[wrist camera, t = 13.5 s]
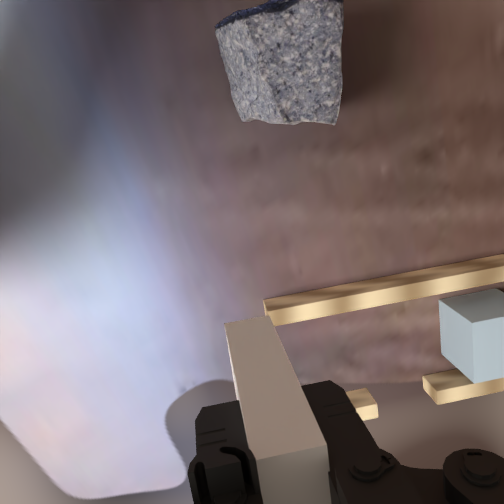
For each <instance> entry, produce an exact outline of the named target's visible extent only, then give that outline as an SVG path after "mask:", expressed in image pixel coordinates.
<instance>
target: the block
mask: <svg viewBox="0 0 504 504" xmlns="http://www.w3.org/2000/svg"><path fill="white" fill-rule="evenodd" d="M439 315H440V333H441V351H442V355H443V356H445V357H446V358H447V359H448V360H449V361H450V362H451V363H452V364H453V365H454V366H455V367H457V368H458V369H459V370H460V371H461V372H462V373H463V374H464V375H465V376H466V377H468V378H469V379H470V380H471V381H472V382H473V383H474V384H475V383H480V382H485V381H489V380H494V379H499V378H504V292H502V291H500V290H498V289H496V288H495V289H490V290H485V291H480V292H475V293H470V294H465V295H460V296H454V297H449V298H444V299H439Z"/></svg>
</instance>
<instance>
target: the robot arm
mask: <svg viewBox="0 0 504 504" xmlns="http://www.w3.org/2000/svg"><path fill="white" fill-rule="evenodd" d="M224 325H225V331H226V337H227V343H228V349H229V355H230V361H231V367H232V373H233V379H234V385H235V391H236V396H237V400H236V401H232V402H227V403H222V404H217V405H212V406H207V407H202V409H201V411H200V413H199V415H198V416H197V418H196V420H195V429H196V452H197V455H196V456H195V457H194V459H193V460H192V461H191V463H190V465H189V469H188V478H189V482H190V487H191V492H192V497H193V501H194V504H504V458H502V457H500V456H498V455H496V454H494V453H492V452H489V451H485V450H481V449H462V450H459V451H455V452H453V453H452V454H450V455H449V456H448V457H446V459H445V462H444V464H443V469H418V468H410V467H407V466H404V465H400V463H399V462H398V461H397V460H396V458H394V456H393V455H392V454H390V453H388V452H386V451H384V450H382V449H379V447H378V446H377V444H376V442H375V441H374V439H373V437H372V436H371V434H370V432H369V431H368V429H367V428H366V426H365V424H364V423H363V421H362V419H361V417H360V416H359V414H358V413H357V412H356V409H355V407H354V406H353V404H352V403H351V401H350V399H349V397H348V396H347V394H346V392H345V391H344V389H343V388H341V387H340V386H338V385H337V384H335V383H334V382H332V381H330V380H328V381H323V382H318V383H313V384H309V385H304V386H301V385H300V383H299V381H298V379H297V376H296V374H295V372H294V370H293V367H292V365H291V363H290V361H289V358H288V356H287V354H286V352H285V350H284V347H283V345H282V343H281V341H280V338H279V336H278V334H277V332H276V329H275V327H274V325H273V323H272V320H271V318H270V316H269V315H267V316H262V317H257V318H251V319H246V320H240V321H235V322H230V323H224Z"/></svg>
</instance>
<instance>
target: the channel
mask: <svg viewBox="0 0 504 504" xmlns="http://www.w3.org/2000/svg"><path fill="white" fill-rule="evenodd" d="M503 281H504V254H500V255H495V256H490V257H485V258H479V259H474V260H469V261H464V262H458V263H453V264H448V265H443V266H438V267H432V268H427V269H422V270H417V271H411V272H406V273H401V274H396V275H390V276H385V277H380V278H375V279H370V280H364V281H359V282H354V283H349V284H343V285H338V286H333V287H328V288H323V289H317V290H312V291H307V292H302V293H296V294H291V295H286V296H281V297H275V298H270V299H265V300H263V303H264V309H265V315H266V316H267V315H269V316H270V318H271V320H272V323H273V325H274V326H278V325H283V324H288V323H293V322H299V321H304V320H309V319H314V318H319V317H324V316H329V315H334V314H340V313H345V312H350V311H355V310H360V309H365V308H370V307H375V306H380V305H386V304H391V303H396V302H401V301H406V300H411V299H416V298H421V297H427V296H432V295H437V294H442V293H447V292H452V291H457V290H462V289H467V288H473V287H478V286H483V285H488V284H493V283H498V282H503ZM423 388H424V390H425V391H426V392H427V393H428V394H429V395H430V396H431V398H432V399H433V400H434V401H435V402H436V404H437V405H439V404H444V403H448V402H453V401H458V400H462V399H467V398H472V397H477V396H481V395H486V394H491V393H495V392H500V391H504V378H499V379H494V380H489V381H485V382H480V383H475V384H474V383H473V382H472V381H471V380H470V379H469V378H468V377H466V376H465V375H464V374H463V373H462V372H461V371H460V370H459V369H454V370H449V371H444V372H439V373H434V374H429V375H425V376H423ZM346 394H347V396H348V397H349V399H350V401H351V403H352V404H353V406H354V407H355V409H356V412H357V413H358V414H359V416H360V417H361V419H362V421H363V420H368V419H373V418H378V409H377V403H376V401H375V400H374V398H373V397H372V395H371V394H370V392H369V391H368V389H367V388H362V389H357V390H352V391H347V392H346Z"/></svg>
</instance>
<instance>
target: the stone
mask: <svg viewBox="0 0 504 504" xmlns="http://www.w3.org/2000/svg"><path fill="white" fill-rule="evenodd" d="M214 27H215V28H216V29H215V34H216V37H217V39H218V43H219V49H220V55H221V57H222V59H223V63H224V66H225V71H226V73H227V75H228V79H229V83H230V87H231V96H232V99H233V102H234V104H235V108H236V110H237V111H238V113H239V116H240V118H241V120H242V122H251V121H252V120H256V119H258V120H262V121H265V122H268V123H272V124H291V125H295V124H298V123H300V122H318V123H326V124H332V125H335V124H336V122H337V118H338V113H339V108H340V102H341V93H342V72H341V63H342V60H341V38H342V33H343V28H344V15H343V0H269V1H268V2H266V3H265V4H262V5H258V7H253V8H250V9H249V8H248V9H246V10H239V11H236V12H233V14H231V15H230V16H228V17H226V18H225V19H223V21H220V22H219V24H218V23H217V24H216V26H214Z"/></svg>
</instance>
